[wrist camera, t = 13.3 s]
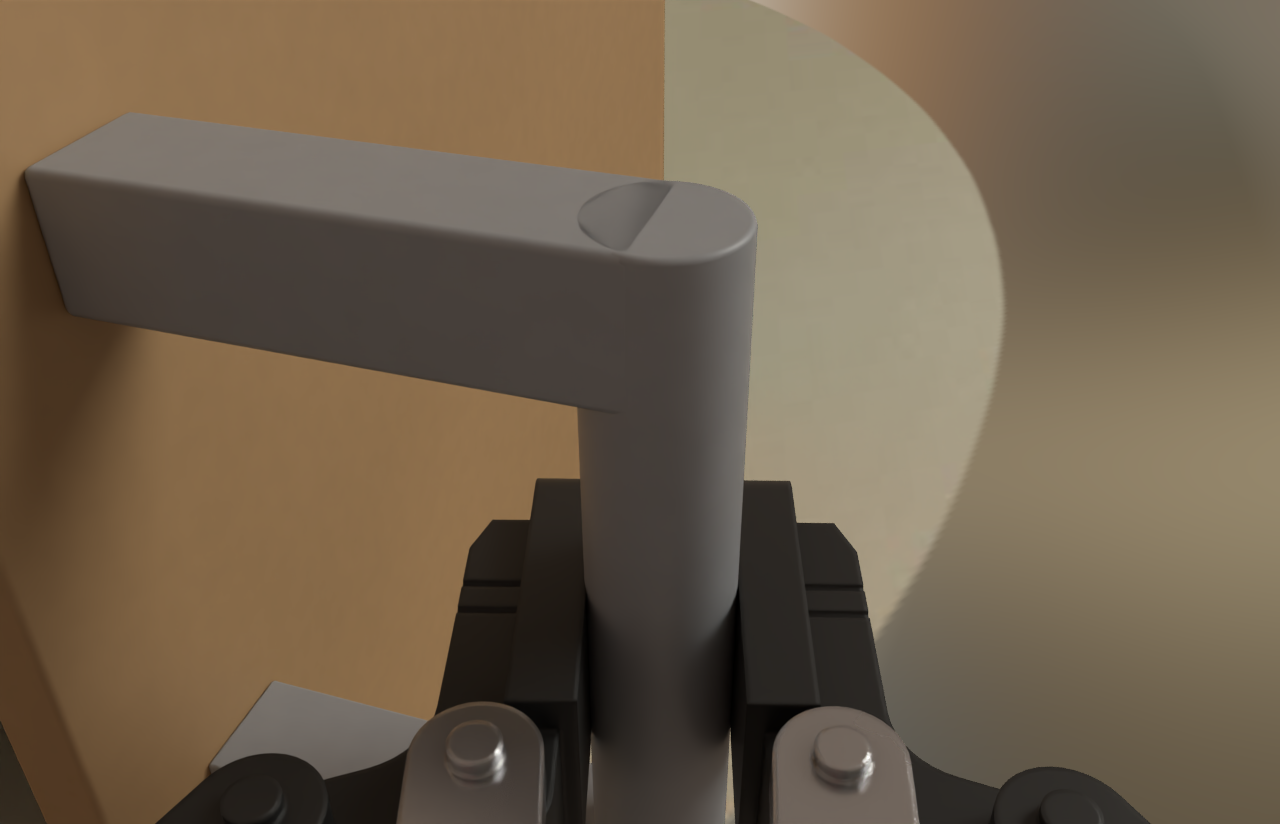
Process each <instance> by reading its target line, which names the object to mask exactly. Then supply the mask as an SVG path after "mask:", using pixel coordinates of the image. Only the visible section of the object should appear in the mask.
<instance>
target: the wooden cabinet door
mask: <svg viewBox="0 0 1280 824" xmlns="http://www.w3.org/2000/svg"><path fill="white" fill-rule="evenodd" d="M664 37H665V0H0V721H1V723H2V725H3V728H4V730H5V732H6V734H7V737H8V739H9V741H10V743H11V745H12V748H13V750H14V752H15V754H16V757H17V759H18V761H19V763H20V765H21V768H22V770H23V772H24V774H25V777H26V779H27V781H28V783H29V785H30V788H31V790H32V792H33V794H34V797H35V799H36V801H37V803H38V805H39V808H40V810H41V812H42V814H43V816H44V819H45V821H46V823H47V824H155V823H156V822H157V821H159V820H160V819H161V818H162V817H163V816H164V815H165V814H166V813H168V812H169V811H170V810H171V809H172V808H173V807H174V806H175V805H176V804H178V803H179V802H180V801H181V800H182V799H183V798H184V797H185V796H187V795H188V794H189V793H190V792H191V791H192V790H193V789H194V788H195V787H197V786H198V785H199V784H200V783H201V782H202V781H203V780H204V779H206V778H207V777H208V776H209V775H211V774H212V773H213V772H215V771H216V770H218V769H220V768H221V767H223V766H225V765H227V764H229V763H231V762H233V761H235V760H238V759H241V758H244V757H247V756H251V755H257V754H263V753H280V754H287V755H291V756H295V757H298V758H300V759H302V760H305V761H306V762H308V763H309V764H311V765H312V766H313V767H314V768H315V769H316V770H317V771H318V772H319V773H320V774H321V776H322V778H323V780H324V779H328V778H332V777H336V776H339V775H343V774H347V773H351V772H355V771H359V770H362V769H366V768H369V767H373V766H376V765H379V764H381V763H383V762H386V761H388V760H390V759H392V758H394V757H396V756H397V755H399V754H401V753H402V752H404V751H405V750H406V749H408V748H409V746H410V743H411V741H412V739H413V737H414V736H415V735H416V733H417V732H418V730H419V729H420V728H421V727H422V726H423V725H424V724H425V723H426V722H427V721H428V720H430V719H431V718H433V717H434V715H435V711H436V708H437V704H438V699H439V695H440V690H441V685H442V680H443V675H444V670H445V665H446V660H447V655H448V651H449V646H450V641H451V636H452V631H453V626H454V621H455V616H456V613H457V612H458V602H459V597H460V592H461V587H462V586H463V577H464V572H465V567H466V562H467V558H468V553H469V548H470V547H471V545H472V544H473V543H474V542H475V540H476V539H477V538H478V537H479V536H480V534H481V533H482V532H483V531H484V529H485V528H486V527H487V526H488V525H489V523H490V522H491V521H492V520H530V516H531V510H532V503H533V496H534V489H535V483H536V480H537V478H564V479H580V488H581V512H582V536H583V560H584V581H585V588H586V602H587V628H588V654H589V680H590V706H591V751H592V763H589V776H588V791H587V807H586V822H585V824H725V810H726V792H727V774H728V755H729V737H730V718H731V700H732V682H733V664H734V646H735V628H736V610H737V592H738V574H739V556H740V538H741V519H742V501H743V483H744V465H745V447H746V429H747V410H748V392H749V374H750V356H751V338H752V320H753V302H754V283H755V265H756V247H757V229H758V224H757V220H756V217H755V215H754V213H753V211H752V209H751V208H750V207H749V206H748V205H747V204H746V203H745V202H744V201H743V200H741V199H739V198H738V197H736V196H734V195H732V194H730V193H728V192H726V191H723V190H721V189H717V188H714V187H711V186H706V185H702V184H697V183H690V182H681V181H664Z"/></svg>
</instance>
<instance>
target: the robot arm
mask: <svg viewBox="0 0 1280 824" xmlns="http://www.w3.org/2000/svg"><path fill="white" fill-rule="evenodd" d="M730 732H731V751H732V770H733V789H734V808H735V824H1150V823H1149V822H1148V821H1147V820H1146V819H1145V818H1144V817H1143V816H1141V814H1140V813H1138V812H1137V811H1136V810H1135V809H1134V808H1133V807H1132V806H1131V805H1130V804H1129V803H1127V801H1126V800H1125V799H1123V798H1122V797H1121V796H1120V795H1119V794H1118V793H1116V792H1115V791H1114V790H1113V789H1112V788H1110V787H1109V786H1107V785H1106V784H1104V783H1102V782H1101V781H1099V780H1097V779H1095V778H1093V777H1091V776H1089V775H1087V774H1084V773H1081V772H1078V771H1075V770H1070V769H1066V768H1059V767H1038V768H1033V769H1028V770H1025V771H1023V772H1020V773H1018V774H1016V775H1015V776H1013V777H1012V778H1010V779H1009V780H1008V781H1007V782H1006V783H1005V784H1004V785H1003V786H1002V787H1001V789H997V788H994V787H990V786H987V785H984V784H980V783H977V782H973V781H970V780H966V779H963V778H959V777H956V776H953V775H951V774H948V773H945V772H943V771H941V770H939V769H936V768H934V767H932V766H930V765H929V764H928V763H926V762H925V761H923V760H921V759H920V758H919V757H918V756H916V755H915V754H914V753H913V752H911V751H910V750H909V749H908V747H907V746H906V745H905V744H904V742H903V741H902V740H901V738H900V737H899V736H898V734H897V733H896V732H895V730H894V728H893V727H892V724H891V722H890V719H889V715H888V712H887V706H886V701H885V696H884V691H883V685H882V680H881V675H880V670H879V665H878V659H877V654H876V649H875V644H874V639H873V633H872V628H871V623H870V618H868V607H867V602H866V597H865V592H864V591H863V581H862V576H861V571H860V565H859V560H858V555H857V552H856V550H855V549H854V548H853V547H852V545H851V544H850V543H849V542H848V540H847V539H846V538H845V537H844V535H843V534H842V533H841V532H840V530H839V529H838V528H837V527H836V525H835V524H834V523H796V515H795V508H794V500H793V493H792V486H791V483H790V481H744V483H743V501H742V519H741V538H740V556H739V574H738V592H737V610H736V628H735V646H734V664H733V682H732V700H731V718H730ZM590 746H591V706H590V680H589V654H588V628H587V602H586V588H585V581H584V560H583V536H582V512H581V488H580V479H564V478H537V480H536V483H535V489H534V496H533V503H532V510H531V516H530V520H492V521H491V522H490V523H489V525H488V526H487V527H486V528H485V529H484V531H483V532H482V533H481V534H480V536H479V537H478V538H477V539H476V540H475V542H474V543H473V544H472V545H471V547H470V548H469V553H468V558H467V562H466V567H465V572H464V577H463V586H462V587H461V592H460V597H459V602H458V612H457V613H456V616H455V621H454V626H453V631H452V636H451V641H450V646H449V651H448V655H447V660H446V665H445V670H444V675H443V680H442V685H441V690H440V695H439V699H438V704H437V708H436V711H435V715H434V717H433V718H431V719H430V720H428V721H427V722H426V723H425V724H424V725H423V726H422V727H421V728H420V729H419V730H418V732H417V733H416V735H415V736H414V737H413V739H412V741H411V743H410V746H409V748H408V749H406V750H405V751H404V752H402V753H401V754H399V755H397V756H396V757H394V758H392V759H390V760H388V761H386V762H383V763H381V764H379V765H376V766H373V767H369V768H366V769H362V770H359V771H355V772H351V773H347V774H343V775H339V776H336V777H332V778H328V779H324V780H323V778H322V776H321V774H320V773H319V772H318V771H317V770H316V769H315V768H314V767H313V766H312V765H311V764H309V763H308V762H306V761H305V760H302V759H300V758H298V757H295V756H291V755H287V754H280V753H263V754H257V755H251V756H247V757H244V758H241V759H238V760H235V761H233V762H231V763H229V764H227V765H225V766H223V767H221V768H220V769H218V770H216V771H215V772H213V773H212V774H211V775H209V776H208V777H207V778H206V779H204V780H203V781H202V782H201V783H200V784H199V785H198V786H197V787H195V788H194V789H193V790H192V791H191V792H190V793H189V794H188V795H187V796H185V797H184V798H183V799H182V800H181V801H180V802H179V803H178V804H176V805H175V806H174V807H173V808H172V809H171V810H170V811H169V812H168V813H166V814H165V815H164V816H163V817H162V818H161V819H160V820H159V821H157V822H156V823H155V824H585V822H586V807H587V791H588V776H589V761H590Z"/></svg>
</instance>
